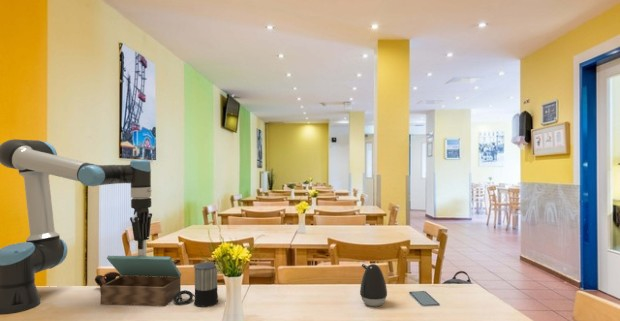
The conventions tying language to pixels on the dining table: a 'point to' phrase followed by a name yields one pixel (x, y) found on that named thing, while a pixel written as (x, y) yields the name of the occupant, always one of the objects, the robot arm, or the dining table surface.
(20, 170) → the robot arm
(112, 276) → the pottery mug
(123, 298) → the storage box
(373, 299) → the pump dispenser
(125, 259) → the lid
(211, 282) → the milk frother
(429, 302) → the smartphone
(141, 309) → the dining table surface
